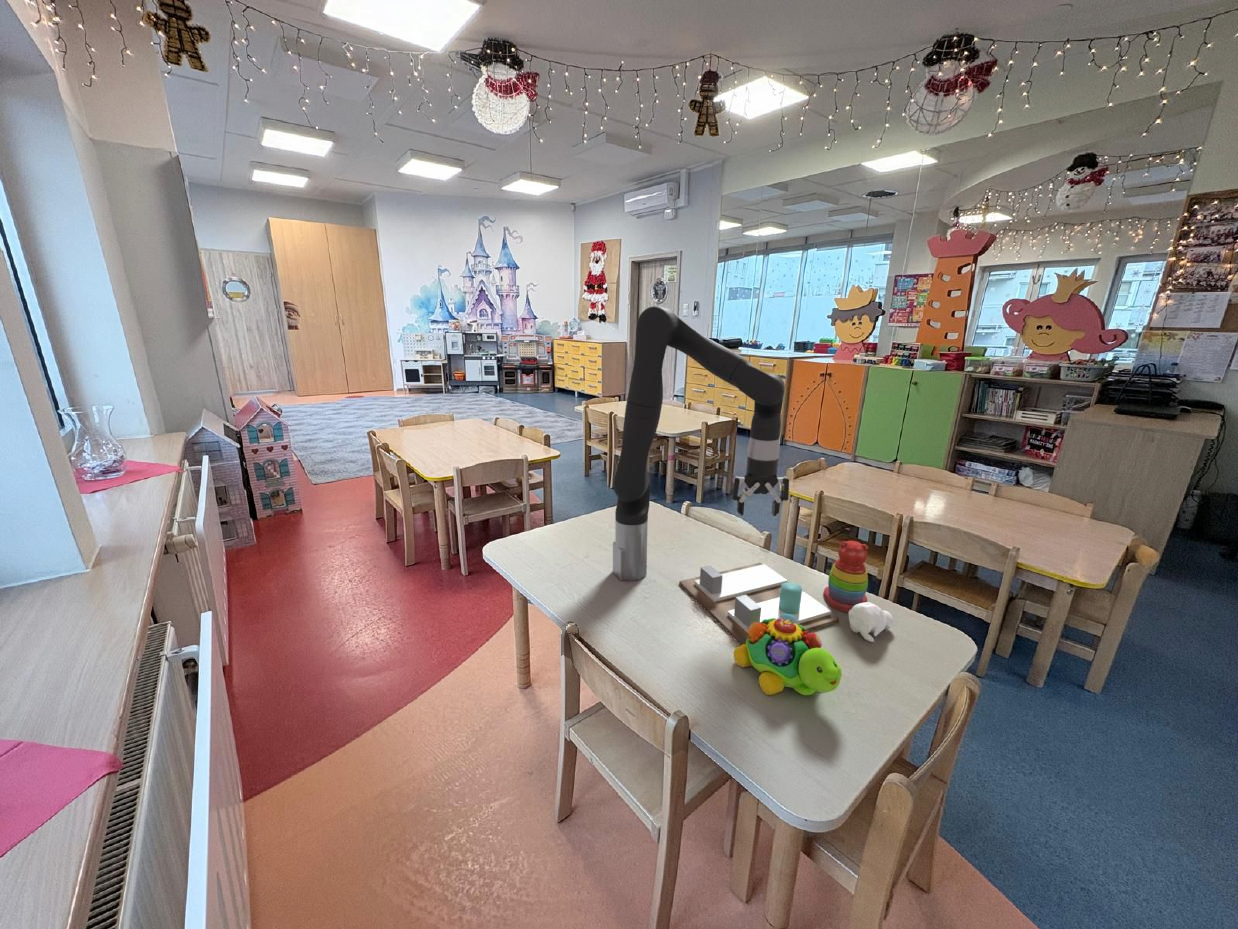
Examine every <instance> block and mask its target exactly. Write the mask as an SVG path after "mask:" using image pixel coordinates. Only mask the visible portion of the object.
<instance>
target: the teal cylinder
mask: <svg viewBox="0 0 1238 929" xmlns="http://www.w3.org/2000/svg"><path fill="white" fill-rule="evenodd" d="M802 591H803V588H802V586H801V585H799V583H795V582H788V581H787V582H785V583H783V584H782V585H781V591H780V600H779V609H780V610H781V611H782V612H784V613H787V614H797V613H798V612H799V611H800V603H801V595H802Z"/></svg>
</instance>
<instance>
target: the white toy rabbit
mask: <svg viewBox="0 0 1238 929" xmlns="http://www.w3.org/2000/svg"><path fill="white" fill-rule="evenodd" d="M893 620H894V618H893V616H892V614H891V613H890V612H889V611H887V610H882V608H881V607H880V606H878V605H877V604H874V603H872V602H870V601H867V602H865V603H859V604H856V605H855V606H854V607H853V608H852V609H851V610H850V611H849V612H848V622H849V625H850V629H851V630H852V631H853V632H854V633H860V635H861V636H862V637H863V638H864V640H865V641H868V642H871V643H874V642H875V639H874V638H873V637H877V636H878V635H879V634H880V633H881V632H882V631H883V630H886V631H888V630H889V629H892V627H891V625H892V623H893ZM872 629H874V631H873V636H872V635H871V634H869V633H870V632H872Z"/></svg>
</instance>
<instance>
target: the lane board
mask: <svg viewBox="0 0 1238 929" xmlns="http://www.w3.org/2000/svg"><path fill="white" fill-rule="evenodd" d="M759 565H763V563H762V562H758V563H752V564H749V565H743V566H739V567H735V568H732V569H727V570H723V571H719V573H720V574H724V573H728V572H733V571H737V570H741V569H746V568H750V567H754V566H759ZM698 579H700V576H695V577H691V578H688V579H682V580H680V581H678V582H679V584H678V585H679V586H680V587H681V588H682V589H683V590H684V591H685V592H686V593H687V594H688V595H689V596H691V597H692V599H693V600H695V602H697V603H698V605H700V606H701V608H702V609H704V610H705V611H706V612H707V613H708V614H709V615H710V616H711V617H712V618H713V619H714V620H715V621H716V622H717V623H718V625H720V626H721V627H722V628H723V629H724V630H725V631H726V633H728V634H729V635H730V636H731V637H732V638H733V639H735V641H736V642H737V643H738V644H739V645H740V646H741V645H743V644H746V640H747V639H748V637H749V634H748V633H747V632H746V631H745V630H744V629H742V628H741V627H740V626H739V625H738V624H737V623H736V622H735V621H734V620H733V619H732V618H731V617H730V616H728V615H727V614H728V611H730V610H734V609H735V598H736V597H739V596H736V597H732V598H728V599H725V600H721V601H717V602H713V601H712V600H711V599H710V598H709V597H708V596H707V595H706V594H705V593H704V592H703V591H702V590H701V589H699V588H698V587H697V586H696V585H695V584H694V580H698ZM780 591H781V585H779V586H776V587H772V588H768V589H764V590H760V591H756V592H752V593H748V594H744V595H747V596H748V597H749V598H750V599H752V600H753V601H754V602H755V603H760V602H764V601H768V600H771V599H775V598H779V597H780ZM740 596H742V595H740ZM840 620H841V618H840V617H838V616H837V615H835V614H834V613H832V612H831V615H827V616H824V617H821V618H817V619H814V620H810V621H807V622H804V623H800V624H799V625H802V626H803V627H804V628H805V629H806V630H807V631H808V632H811V631H814V630H819V629H821V628H824V627H828V626H830V625H834V624H837V623H840Z"/></svg>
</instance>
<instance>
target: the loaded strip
mask: <svg viewBox="0 0 1238 929" xmlns="http://www.w3.org/2000/svg"><path fill="white" fill-rule="evenodd" d="M779 600H780V597H779V598H775V599H771V600H768V601H764V602H760V603H755V602H754V601H753V600H752V599H750V598H749V597H748V596H747V595H742V596H739V597H736V598H735V609H734V610H730V611H728V614H727V615H728V616H730V617H731V618H732V619H733V620H734V621H735V622H736V623H737V624H738V625H739V626H740V627H741V628H742V629H744V630H745V631H746V632H747V630H748V628H749V626H750V625H751V624H752V623H754V622H758V623H760V622H762V621H763V620H764V619H771V618H776V620H777V619H778V618H779V619H780V617H781V615H783V614H787V613H784V612H782V611H781V610H780V609H779ZM831 613H832V610H831V609H830V608H828V607H827V606H825V605H823V604H822V603H820V602H819V601H818V600H816V599H815V598H813V596H811V595H809V594H808V593H806V592H805V591H803V590H802V595H801V603H800V611H799V612H798V613H797V614H789V615H792V616H794V617H795V618H796V624H800V623H804V622H807V621H810V620H814V619H817V618H821V617H824V616H827V615H831Z"/></svg>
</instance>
